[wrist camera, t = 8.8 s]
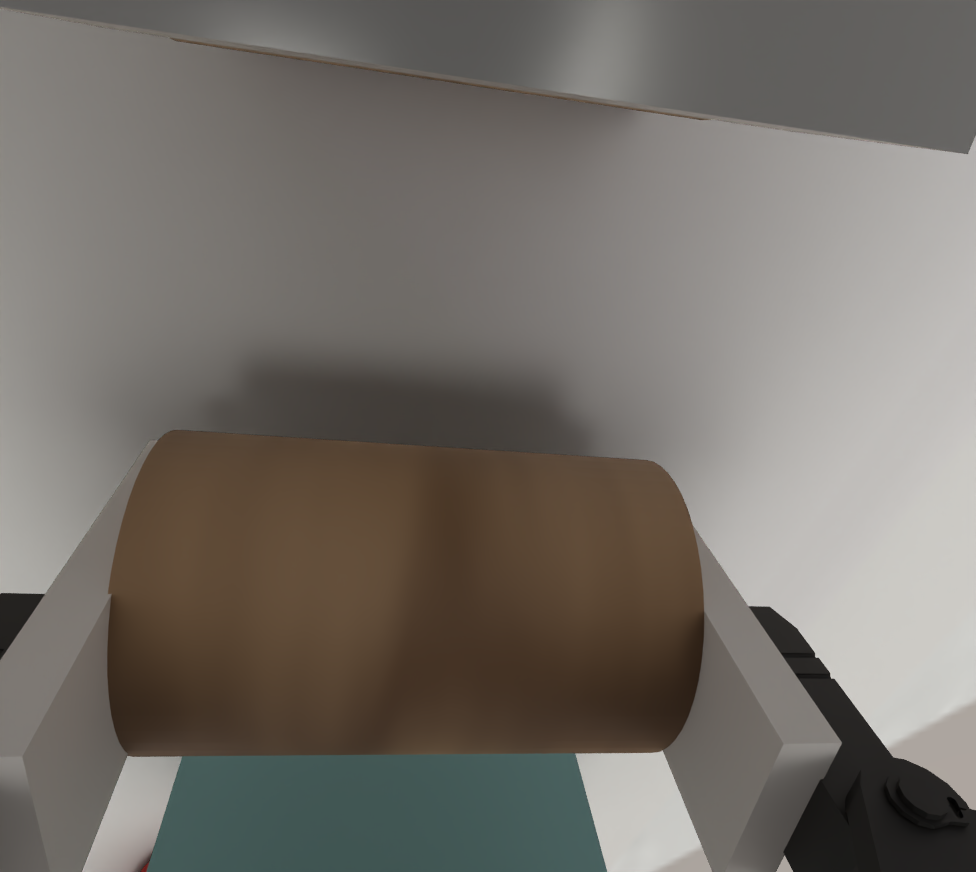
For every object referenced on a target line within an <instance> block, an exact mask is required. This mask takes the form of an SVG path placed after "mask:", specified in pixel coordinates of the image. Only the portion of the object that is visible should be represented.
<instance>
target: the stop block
mask: <svg viewBox="0 0 976 872" xmlns="http://www.w3.org/2000/svg"><path fill="white" fill-rule="evenodd" d="M146 872H607V869H606V866H605V862H604V858H603V855H602V851H601V847H600V844H599V840H598V836H597V832H596V829H595V825H594V821H593V818H592V814H591V810H590V807H589V803H588V799H587V795H586V792H585V788H584V784H583V781H582V777H581V773H580V770H579V766H578V762H577V758H576V755H575V753H550V754H417V755H283V756H182V759H181V763H180V766H179V769H178V772H177V775H176V779H175V782H174V785H173V788H172V791H171V795H170V798H169V801H168V804H167V807H166V811H165V814H164V817H163V820H162V823H161V827H160V830H159V833H158V836H157V839H156V843H155V846H154V849H153V852H152V855H151V859H150V862H149V865H148V868H147V871H146Z"/></svg>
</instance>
